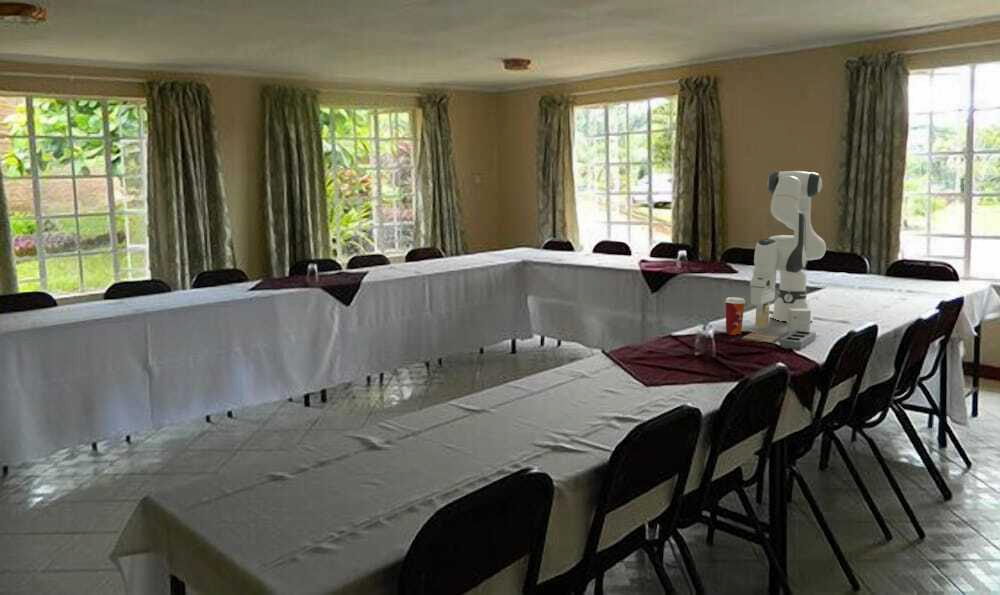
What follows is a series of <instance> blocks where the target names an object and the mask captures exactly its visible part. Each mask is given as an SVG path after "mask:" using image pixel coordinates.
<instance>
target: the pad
mask: <svg viewBox="0 0 1000 595" xmlns="http://www.w3.org/2000/svg"><path fill="white" fill-rule="evenodd" d="M740 338H741V339H740V340H741V341H743V340H744V341H743V342H751V341H756V342H755V343H758V342H767V343H772V344H775V343H776V342H777V341H780V339H781V336H779V335H770V334H763V333H754V332H750V333H748V334H745V335H744V336H743V337H740Z"/></svg>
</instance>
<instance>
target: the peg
mask: <svg viewBox="0 0 1000 595" xmlns="http://www.w3.org/2000/svg"><path fill="white" fill-rule="evenodd" d="M755 307H756V308H755V309H756V310H755V323H754V324H755V325H754V327H756V328H767V327H769V321H770V320H769V319H770V303H769V304H763V315H758V310H757V306H755Z"/></svg>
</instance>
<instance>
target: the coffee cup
mask: <svg viewBox="0 0 1000 595" xmlns="http://www.w3.org/2000/svg"><path fill="white" fill-rule="evenodd" d="M724 303H725V334H726V335H730V336H737V335H736V334H740V335H741V334H742V327H743V320H744V310H745V303H746V300H745V298H743V297H737V296H736V297H735V296H732V297H730V296H729V297H727V298H726V299H725V301H724Z"/></svg>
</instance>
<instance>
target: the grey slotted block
mask: <svg viewBox="0 0 1000 595" xmlns="http://www.w3.org/2000/svg"><path fill="white" fill-rule="evenodd" d="M816 336H817V335H816V332H814V331H810V332H807V331H798V330H795V331H793V332H792V333H790V334H789V333H787V335H785V336H784V337H780V339H779V344H778V345H779V346H782V347H781V348H784V347H788V348H787V349H792V348H793V350H800V351H801V350H802V349H804V348H805V347H807V346H808V345H809V344H811V343H813V342H814V341H816Z"/></svg>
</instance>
